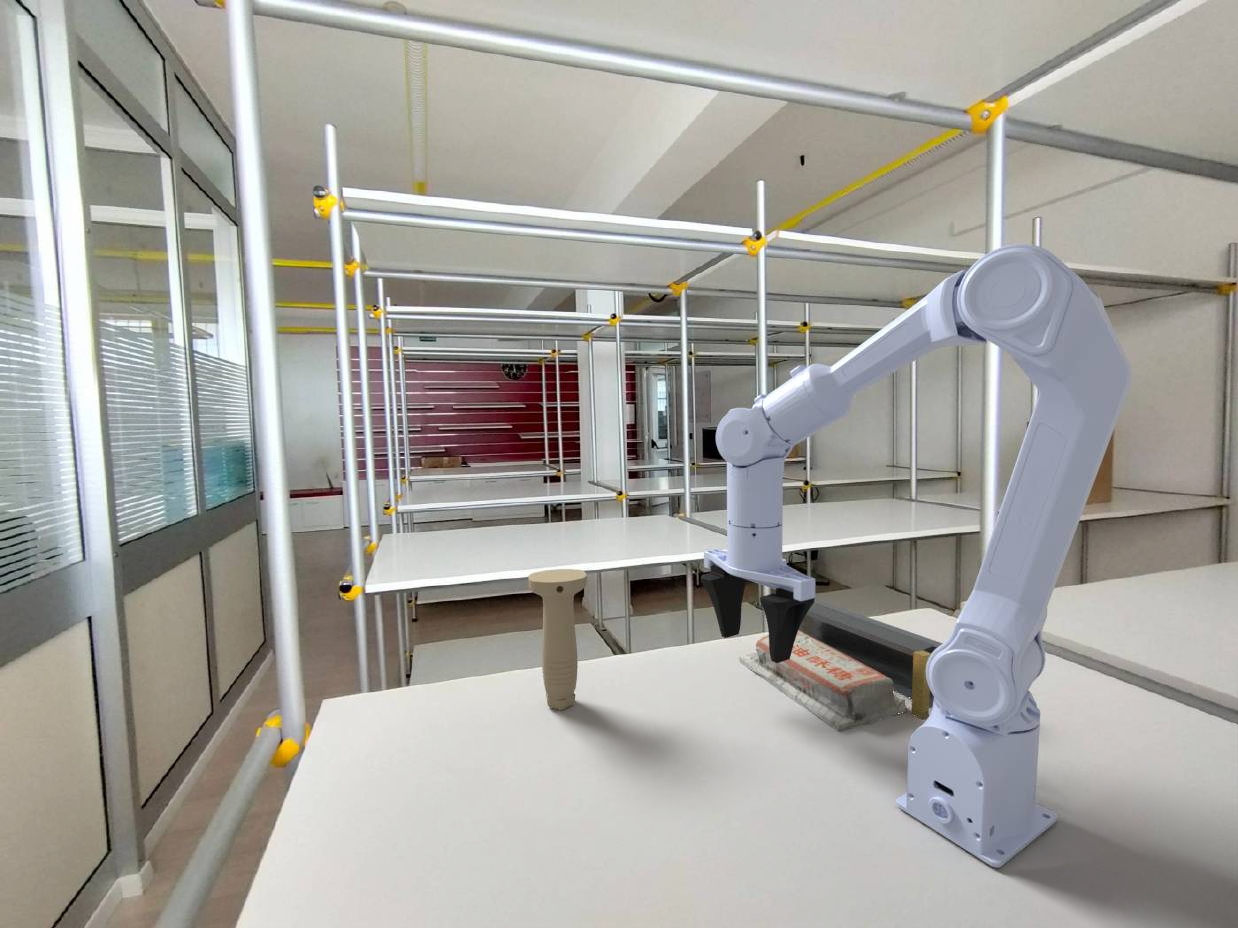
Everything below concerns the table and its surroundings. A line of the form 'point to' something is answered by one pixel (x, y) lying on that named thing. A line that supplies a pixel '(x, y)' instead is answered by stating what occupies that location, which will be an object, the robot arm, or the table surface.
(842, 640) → the grey long bar
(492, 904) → the table surface
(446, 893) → the table surface
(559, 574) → the handle
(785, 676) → the packaged product
